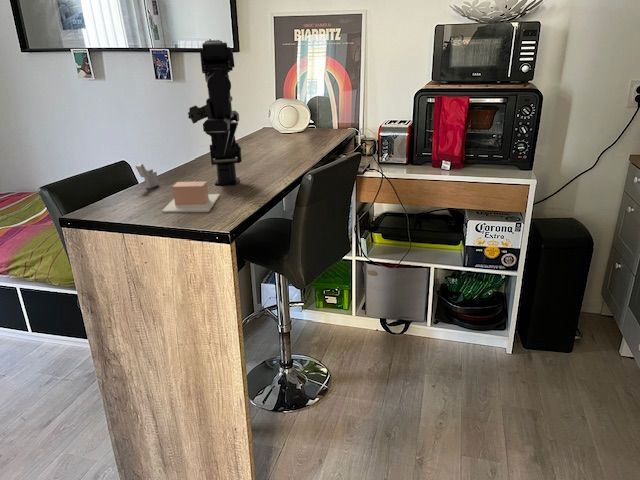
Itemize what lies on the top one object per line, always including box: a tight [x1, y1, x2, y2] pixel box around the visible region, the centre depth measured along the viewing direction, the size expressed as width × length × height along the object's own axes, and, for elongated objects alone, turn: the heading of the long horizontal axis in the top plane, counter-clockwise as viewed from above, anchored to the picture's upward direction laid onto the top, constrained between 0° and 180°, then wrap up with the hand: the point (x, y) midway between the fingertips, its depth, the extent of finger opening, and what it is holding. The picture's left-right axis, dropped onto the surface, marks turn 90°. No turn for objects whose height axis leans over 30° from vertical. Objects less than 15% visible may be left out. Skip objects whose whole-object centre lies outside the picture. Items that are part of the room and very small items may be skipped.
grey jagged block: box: [135, 163, 159, 189], centre depth 150 cm, size 7×2×8 cm, turn 161°
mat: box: [161, 193, 221, 214], centre depth 135 cm, size 14×12×1 cm
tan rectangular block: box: [172, 181, 209, 205], centre depth 134 cm, size 8×4×5 cm, turn 89°
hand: (225, 152), depth 138 cm, fingers open, 9 cm apart
